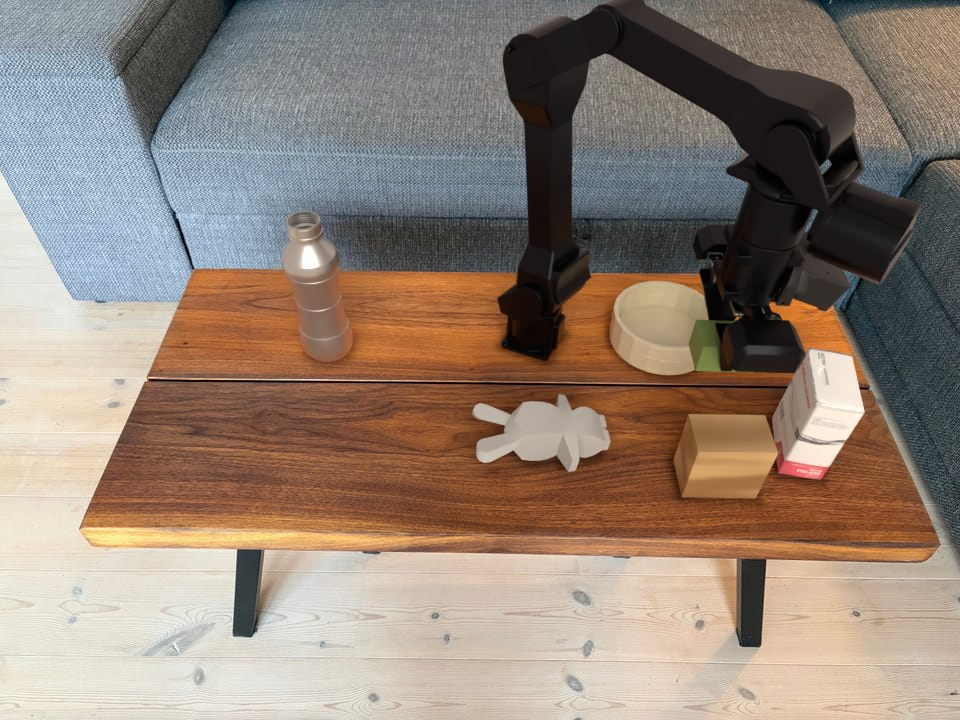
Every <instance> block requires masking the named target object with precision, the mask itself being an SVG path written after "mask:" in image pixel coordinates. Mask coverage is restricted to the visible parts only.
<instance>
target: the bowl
mask: <svg viewBox="0 0 960 720" xmlns="http://www.w3.org/2000/svg"><path fill="white" fill-rule="evenodd" d="M696 320H708V316H707V310H706V306H705V300H704V295H703V294H702V293H700V291H698V290H696V289H694V288H691V287H690V286H687V285H685V284H682V283H677V282H674V281H673V282H672V281H668V280H647V281H642V282H637V283H634V284H633V285H631V286H629V287H626V288H625V289H623V290H622V291H621V293H620V294H619V295H617V297H616V298H615V301H614V305H613V309H612V313H611V321H610V325H609V340H610V344H611V346H612V348H613V350H614V351H615V353H616V354H617V355H618V356H619V358H621V359H622V360H623V361H624V362H626V363H627V364H629V365H630V366H632V367H634V368H636V369H638V370H641V371H643V372H647V373H650V374H654V375H660V376H678V375H684V374H688V373H691V372H693V371H695V368H694V364H693V360H692V356H691V352H690V348H689V341H690V337H691V334H692V331H693V328H694V325H695V322H696Z"/></svg>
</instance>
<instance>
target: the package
mask: <svg viewBox="0 0 960 720" xmlns="http://www.w3.org/2000/svg"><path fill="white" fill-rule="evenodd" d="M733 322H734V321H719V320H696V322H695V325H694V328H693V331H692V334H691V337H690V341H689V348H690V352H691V356H692V360H693V364H694V368H695V370H694V371H695V372H714V373H717V372H719V373H737V372H736V371H735V370H732V371H721V369H720V364H719V357H718V349H717V341H716V334H715V326H714V324H715V323H733ZM743 373H747V374H748V373H750V374H753V373H755V372H743Z"/></svg>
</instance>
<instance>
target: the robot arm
mask: <svg viewBox="0 0 960 720" xmlns="http://www.w3.org/2000/svg"><path fill="white" fill-rule="evenodd" d="M604 55H608V56H611V57H612V58H614V59H616V60H618V61H620V62H621V63H623V64H624V65H627V66H628V67H630V68H631V69H633V70H635V71H637V72H639V73H640V74H642V75H644V76H645V77H647V78H648V79H651V80H652V81H654V82H655V83H657V84H659V85H660V86H663V87H664V88H666V89H668V90H670V91H671V92H673V93H674V94H677V95H678V96H680V97H681V98H683V99H685V100H687V101H689V102H690V103H691V104H694V105H695V106H697V107H699V108H701V109H702V110H704V111H706V112H708V113H709V114H710V115H712V116H714V117H716V118H717V119H718V120H719V121H721V122H722V123H723V124H724V125H725V126H726V127H727V128H728V130H729V131H730V133H731V134H732V136H733V138H734V140H735V142H736V143H737V144H738V147H740V148H741V150H743V151H744V153H742V154H741V155H740V156H739V157H738V158H736V159H735V160H734V161H733V162H732V163H730V165H728V166H727V167H726V168H725V173H726V175H728V176H730V177H733V178H735V179H738V180H740V181H742V182H745V183H747V186H746V190H745V192H744V195H743V198H742V202H741V204H740V207H739V209H738V213H737V217H736V220H735V223H726V224H706V225H704V226H703V227H702V228H700V229H698V230H697V231H696V233H695V236H694V240H693V243H692V248H693V251H694V255H695V258H696V261H697V262H704V261H707V259H708V262H709V264H708V267H703V268H700V269H699V271H698V275H699V279H700V285H701V290H702V293H703V294H702V295H703V296H704V300H705V306H706V310H707V316H708V320H719V321H734V322H733V323H715V324H714V326H715V334H716V341H717V349H718V357H719V364H720V369H721V371H732V370H735V371H736V372H735V373H744V372H754V373H764V374H765V373H767V374H793V375H794V374H795V373H796V372H797V371H798V370H799V368H800V366H801V364H802V362H803V360H804V358H805V356H806V353H805V352H806V349H805V347H804V346H803V343H802V340H801V338H800V336H799V333H798V331H797V329H796V327H795V326H794V325H793V323H792V322H791V321H790V320H789V319H783V318H782V316H781V315H780V313H778V312H776V311H773V310H772V308H771V306H770V305H771V303H774V304H775V306H776V307H790V306H791V304H792V301H793V299H794V300H795V301H798V302H800V303H804V304H806V305H810V306H812V307H815V308H816V309H817V310H818V311H821V312H827V311H828V310H830V309H831V307H833V306H834V304H836V302H838V301H839V300H840V298H841V297H842V296H844V295H845V294H846V292H847V291H848V290H849V289H850V288H851V287H852V285H851V283H850V281H849V279H848V277H847V275H846V273H845V271H846V272H847V273H848V272H849V273H850V274H853V275H854V276H857V277H859V278H862V279H864V280H867V281H869V282H871V283H873V284H876V285H878V286H881V285H882V283H883V282H884V281H885V279H886V278H887V276H889V274H890V272H891V271H892V269H893V267H895V264H896V263H897V261H898V259H899V258H900V257H901V254H902V253H903V251H904V249H905V248H906V246H907V244H908V242H909V241H910V239H911V237H912V235H913V234H914V232H915V231H914V230H913V228H914V226H915V224H916V221H917V219H918V218H917V217H918V215H919V213H920V211H921V210H922V208H923V207H922V204H921V203H919V202H917V201H914V200H911V199H908V198H905V197H899V196H894V195H891V194H887V193H885V192H883V191H880V190H877V189H875V188H872V187H869V186H866V185H863V184H861V183H858V182H857V181H858V178H860V177H861V175H862V174H863V173H864V172H865V171H866V170H865V165H864V161H863V158H862V154H861V152H860V151H861V150H860V147H859V144H858V141H857V137H856V134H855V131H854V129H855V127H856V120H857V112H856V108H855V107H856V106H855V104H854V103H855V100H854V98H853V96H852V94H850V92H849V90H847V89H846V88H844V87H843V86H842V85H840V84H837V83H835V82H833V81H830V80H827V79H823V78H820V77H817V76H814V75H811V74H807V73H804V72H801V71H798V70H797V71H796V70H787V69H778V68H769V67H765V66H763V65H760V64H757V63H754V62H752V61H750V60H748V59H747V58H744V56H741V55H739V54H737V53H735V52H734V51H732V50H730V49H728V48H726V47H724V46H722V45H721V44H719V43H717V42H715V41H713V40H711V38H708V37H706V36H705V35H702V34H700V33H699V32H697V31H695V30H693V29H691V28H690V27H688V26H686V25H684V24H682V23H680V22H678V21H676V20H675V19H673V18H671V17H669V16H668V15H666V14H664V13H662V12H660V11H658V10H656V9H654V8H653V7H651V6H649V5H647V4H646V2H645V1H644V0H606V1H604V2H602V3H600V4H598V5H595V7H592V8H591V10H590V12H589V13H586V14H585V15H582V16H581V17H578V18H577V19H573V18H572V17H569V16H566V15H557V16H555V17H553V18H550V19H549V20H546V21H544V22H543V23H540V24H538V25H536V26H534V27H531V28H530V29H528V30H525V31H523V32H521V33H519V34H517V35H515V36H513V37H512V38H511V39H510V40H509V42H508V43H507V44H506V45H505V46H504V48H503V52H502V68H503V74H504V80H505V85H506V90H507V95H508V99H509V101H510V102H511V104H512V105H513V107H514V108H515V110H516V111H517V113H518V114H519V116H520V117H521V119H522V122H523V131H524V154H525V155H524V157H525V158H524V159H525V179H526V181H525V182H526V203H527V229H528V230H527V231H528V242H527V244H526V248H525V250H524V252H523V254H522V257H521V259H520V261H519V263H518V265H517V272H516V280H515V283H514V284H512V286H510V287H509V288H508V289H507V290H505V291H504V292H503V293H502V294H500V295H499V296H498V297H497V298H496V300H497V304H498V308H499V312H500V313H501V314H502V315H505V316H506V317H507V319H506V334H505V336H504V338H503V339H502V341H501V343H500V346H501V348H503V349H505V350H509V351H512V352H515V353H518V354H521V355H524V356H527V357H531V358H533V359H536V360H540V361H544V362H547V361H548V360H549V359H550V357H551V356H552V354H553V352H554V351H556V350H557V349H558V347H559V346H560V344H561V342H562V340H563V338H564V332H565V325H566V314H565V313H563V306H564V305H565V304H566V303H567V302H568V301H569V300H571V299H572V298H573V297H574V296H575V295H576V294H578V292H580V291H581V290H582V289H583V288H584V287H585V286H586V284H587V282H588V281H589V280H591V278H592V275H591V272H590V267H589V266H590V260H591V252H590V250H587V249H581V248H580V246H579V245H578V244H577V242H576V241H575V240H574V238H573V118H574V114H575V111H576V109H577V106H578V104H579V101H580V99H581V96H582V94H583V92H584V90H585V88H586V85H587V80H588V75H589V74H588V73H589V68H590V63H591V61H592V60H594V59H597V58H598V57H601V56H604ZM827 161H829V163H830V165H829V166H828V167H827V168H826V169H825V170H823V172H822V170H821V167H822V166H823V165H824V164H825V163H826V162H827ZM815 210H816V211H817V212H816V215H815V217H814V219H813V221H812V223H811V225H810V227H809V229H808V230H807V228H808V225H809V222H810V220H811V218H812V215H813V213H814V211H815ZM806 230H807V231H806ZM737 318H738V319H737Z"/></svg>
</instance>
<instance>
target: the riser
mask: <svg viewBox="0 0 960 720" xmlns="http://www.w3.org/2000/svg"><path fill="white" fill-rule="evenodd" d="M777 455H778V451H777V448H776V445H775V442H774V435H773V433H772V430H771V428H770V425H769V422H768V420H767V417H766V414H725V413H724V414H718V413H717V414H716V413H715V414H714V413H712V414H711V413H688V415H687V417H686V421H685V424H684V427H683V430H682V434H681V435H680V439H679V442H678V445H677V448H676V451H675V453H674V457H673V465H674V470H675V473H676V474H675V475H676V478H677V483H678V488H679V492H680V497H681V498H694V499H695V498H696V499H697V498H699V499H700V498H701V499H702V498H703V499H704V498H707V499H757V497H758V495H759V493H760V491H761V489H762V487H763V485H764V483H765V481H766V479H767V477H768V475H769V473H770V471H771V469H772V467H773V465H774V463H775V461H776V460H777V459H776V457H777Z"/></svg>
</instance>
